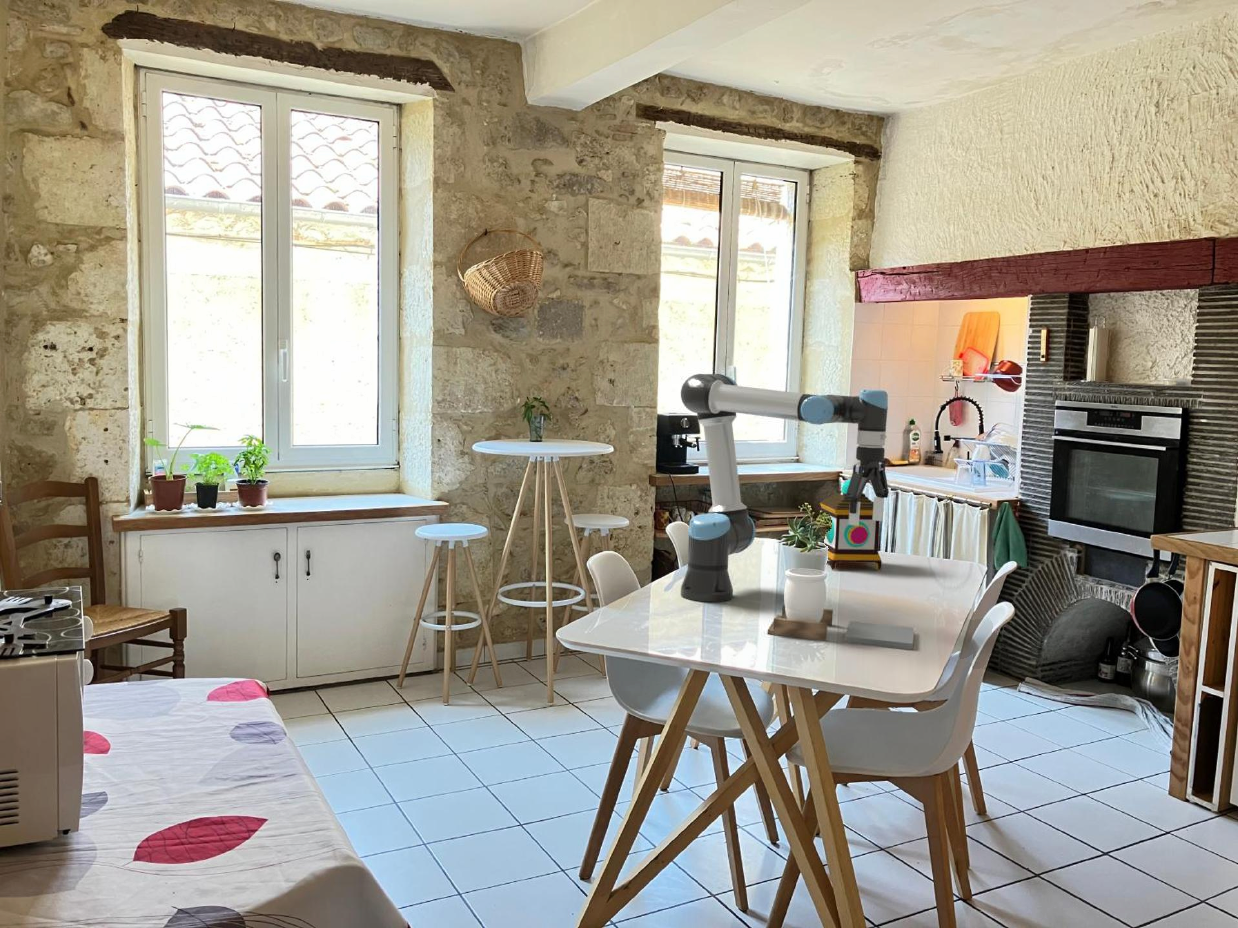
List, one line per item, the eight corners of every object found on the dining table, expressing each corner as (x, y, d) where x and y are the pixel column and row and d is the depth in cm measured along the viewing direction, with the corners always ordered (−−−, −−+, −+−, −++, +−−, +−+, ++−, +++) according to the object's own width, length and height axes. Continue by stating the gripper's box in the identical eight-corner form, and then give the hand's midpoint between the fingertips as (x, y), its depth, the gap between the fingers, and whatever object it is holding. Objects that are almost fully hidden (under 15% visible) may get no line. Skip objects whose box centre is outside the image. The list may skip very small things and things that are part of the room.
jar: (799, 636, 246) (802, 577, 244) (774, 626, 255) (776, 569, 253) (832, 632, 250) (835, 574, 249) (807, 622, 260) (809, 566, 258)
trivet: (844, 642, 242) (844, 636, 242) (849, 626, 257) (849, 620, 257) (912, 649, 237) (912, 643, 237) (913, 633, 252) (913, 627, 252)
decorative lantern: (811, 559, 348) (815, 474, 345) (865, 559, 350) (870, 475, 347) (829, 571, 328) (834, 481, 325) (886, 571, 330) (891, 482, 327)
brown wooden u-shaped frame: (767, 633, 247) (768, 618, 247) (777, 618, 263) (777, 603, 262) (825, 640, 243) (826, 624, 242) (832, 624, 258) (832, 609, 258)
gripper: (860, 449, 259) (855, 529, 261) (904, 445, 277) (899, 520, 280) (835, 446, 264) (830, 525, 266) (879, 443, 282) (874, 516, 284)
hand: (865, 522), depth 273 cm, fingers open, 13 cm apart
